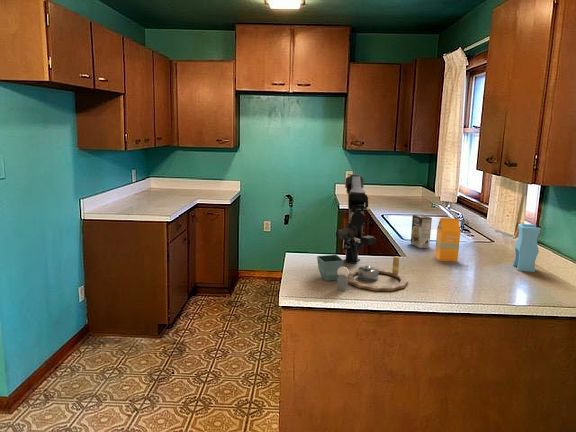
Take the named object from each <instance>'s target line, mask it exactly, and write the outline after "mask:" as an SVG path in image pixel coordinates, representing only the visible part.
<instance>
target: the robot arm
mask: <svg viewBox="0 0 576 432" xmlns="http://www.w3.org/2000/svg"><path fill="white" fill-rule="evenodd" d="M364 181H365V179H364V177H362V175H361V174H360V173H359V174H358V173H357V174H355V173H352V174H350V175H349V176H348V177H346V178H345V183H344V186H345V187H344V189H346V191H345V192H346V194H347V195H348V196H347V208H348V222H347V224H346V227H344V228H342V229H338V230H336V232H335V237H336V238H339V240H343V241H342V249H343V250H345V258H344V259H343V260H344V262H343V263H349V264H351V263H352V264H357V263H358V262H360V260H361V259H360V258H359V252H360V251H361V250H363V247H364V246H371V245H375V244H377V238H376V237H375V236H373V235H365V232H363V229H364V226H366V223H365V222H366V216H365V214H364V213H365V211H364V210H368V207H369V197H368V195H367V194H366V190H364V183H365V182H364Z"/></svg>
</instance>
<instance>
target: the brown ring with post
mask: <svg viewBox="0 0 576 432" xmlns="http://www.w3.org/2000/svg"><path fill="white" fill-rule="evenodd" d="M392 259H393V260H392V270H389V269H381V268H377V269H378V270H379V274H383V275H389V276H391V277H394V278H397V279H398V280H399V283H396V284H391V285H372V284H367V283H363V282H361V281H358V280H356V279H355V278H354V277H355V276H356V275H358V269H355V270H354V269H353V270H349V275H348V284H351V285H352V286H355V287H357V288H358V289H359V288H360V289H364V290H366V289H367V290H370V291H374V292H375V291H379V292H382V291H383V292H385V291H388V292H389V291H390V292H391V291H392V292H393V291H396V290H400V289H404V288H406V286H407V285H408V284H409V280H408V278H407V277H406V276H405V275H403V274H401V273H399V268H400V267H399V266H400V256H398V255H397V256H393V257H392Z"/></svg>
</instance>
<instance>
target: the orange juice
mask: <svg viewBox="0 0 576 432" xmlns="http://www.w3.org/2000/svg"><path fill="white" fill-rule="evenodd" d="M460 239H461V226H460V219H459V218H458V217H457V218H456V217H455V218H453V217H450V218H448V217H446V218H445V217H444V218H443V217H441V218H439V221H438V225H437V229H436V239H435V249H434V250H435V251H434V252H435V253H434V257H435V258H436V259H437V260H438V261H439V262H441V261H442V262H459V261H458V259H459V251H460V241H461V240H460Z"/></svg>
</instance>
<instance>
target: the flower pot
mask: <svg viewBox="0 0 576 432" xmlns="http://www.w3.org/2000/svg"><path fill="white" fill-rule="evenodd" d="M316 259H317V267H318V272H319V274H320V276H321V277H322V278H323V280H325V281H326V282H327V281H338V274H337V270H338V269H339V268H340V267H344V263H345V262H344V259H343V258H341V257H340V256H339V255H337V254H328V255H325V254H324V255H317V257H316Z"/></svg>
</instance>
